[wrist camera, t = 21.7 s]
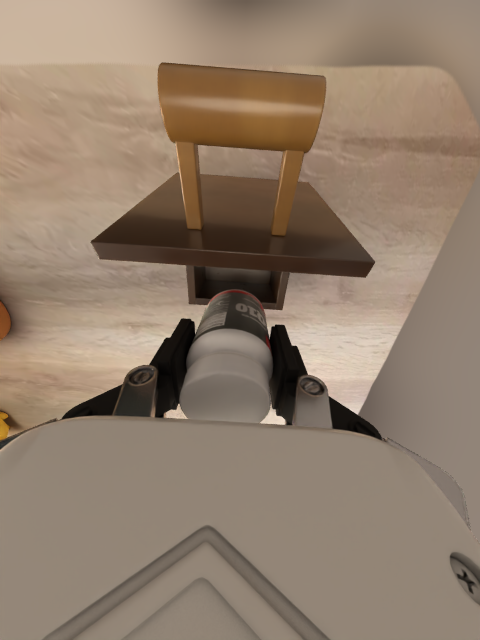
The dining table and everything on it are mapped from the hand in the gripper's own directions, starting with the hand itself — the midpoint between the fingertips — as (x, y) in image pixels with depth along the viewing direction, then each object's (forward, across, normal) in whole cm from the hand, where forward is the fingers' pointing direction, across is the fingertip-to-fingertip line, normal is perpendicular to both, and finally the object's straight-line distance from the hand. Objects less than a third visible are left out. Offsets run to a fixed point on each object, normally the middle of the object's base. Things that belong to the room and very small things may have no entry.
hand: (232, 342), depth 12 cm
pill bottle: (+4, 0, 0) cm, 4 cm away
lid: (+5, 0, -7) cm, 9 cm away
